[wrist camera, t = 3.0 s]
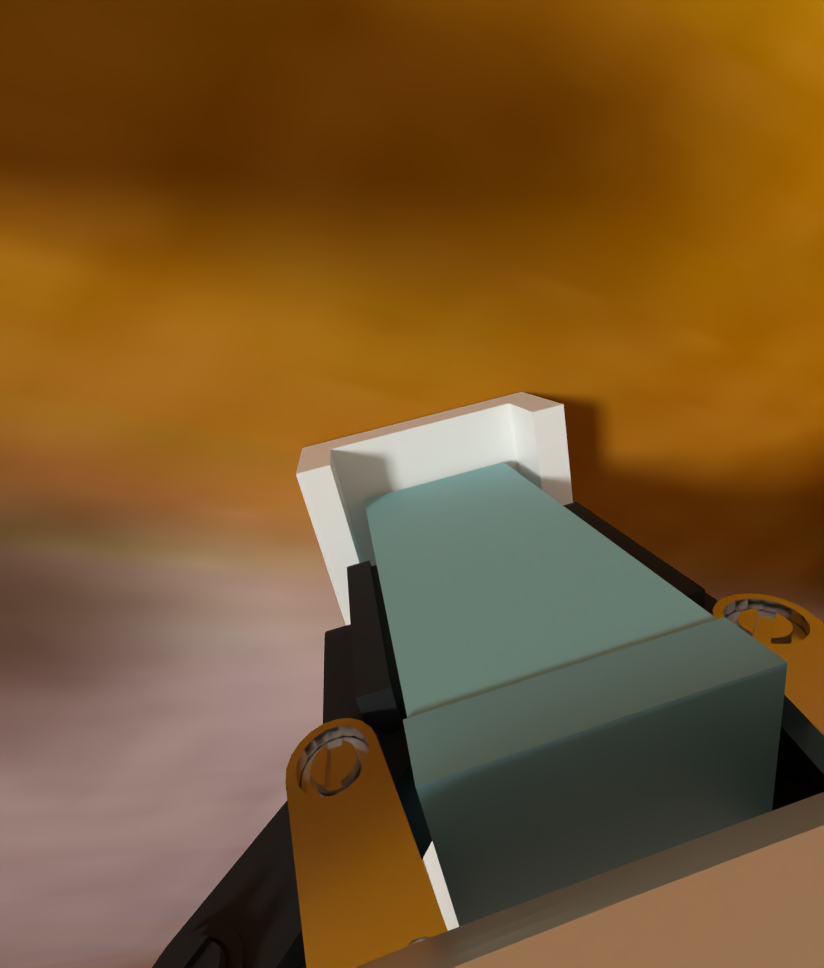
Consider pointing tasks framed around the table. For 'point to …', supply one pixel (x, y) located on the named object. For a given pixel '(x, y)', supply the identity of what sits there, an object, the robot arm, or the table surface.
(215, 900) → the robot arm
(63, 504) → the table surface
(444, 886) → the channel
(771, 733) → the block
